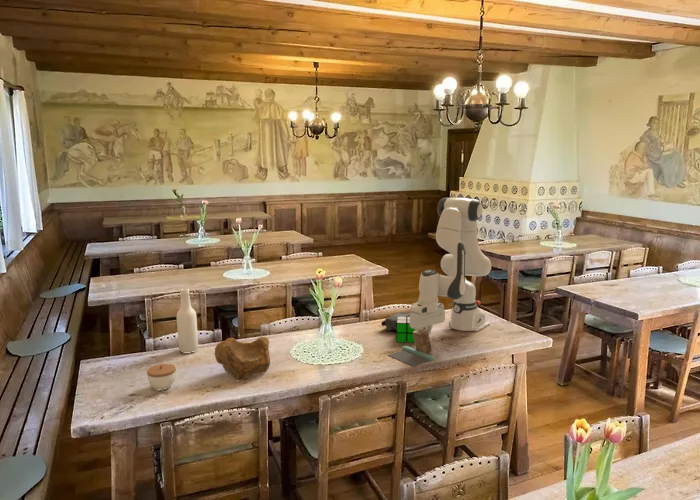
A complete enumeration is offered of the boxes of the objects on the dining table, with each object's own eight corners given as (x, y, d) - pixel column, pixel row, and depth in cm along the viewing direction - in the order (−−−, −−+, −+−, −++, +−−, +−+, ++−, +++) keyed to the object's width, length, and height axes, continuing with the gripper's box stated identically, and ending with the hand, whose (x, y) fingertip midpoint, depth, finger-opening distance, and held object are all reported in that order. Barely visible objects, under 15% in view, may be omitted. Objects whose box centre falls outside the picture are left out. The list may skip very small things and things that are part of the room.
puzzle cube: (416, 335, 266) (416, 316, 264) (417, 343, 256) (417, 323, 254) (396, 335, 267) (396, 316, 265) (396, 342, 257) (396, 322, 255)
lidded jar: (182, 386, 211) (180, 364, 209) (157, 395, 203) (155, 373, 201) (168, 379, 218) (166, 357, 216) (143, 387, 210) (141, 365, 208)
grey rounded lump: (398, 321, 288) (398, 307, 287) (416, 325, 282) (416, 311, 280) (380, 330, 274) (380, 316, 272) (398, 335, 267) (398, 320, 266)
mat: (403, 350, 247) (403, 349, 247) (429, 360, 234) (429, 360, 234) (388, 355, 241) (388, 355, 241) (413, 366, 228) (413, 366, 228)
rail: (405, 348, 249) (405, 345, 249) (434, 360, 235) (434, 356, 235) (402, 349, 248) (402, 346, 247) (431, 361, 234) (431, 358, 234)
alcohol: (175, 353, 246) (170, 290, 240) (186, 346, 254) (182, 286, 248) (191, 355, 243) (187, 292, 237) (202, 348, 251) (198, 287, 246)
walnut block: (424, 347, 247) (419, 326, 243) (432, 350, 243) (427, 329, 239) (416, 352, 244) (412, 332, 240) (424, 355, 241) (420, 335, 237)
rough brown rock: (217, 388, 211) (216, 354, 207) (214, 369, 226) (213, 336, 222) (275, 382, 218) (275, 349, 214) (268, 363, 233) (268, 332, 229)
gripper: (438, 300, 249) (437, 328, 252) (407, 307, 237) (406, 337, 239) (448, 303, 245) (447, 332, 247) (417, 310, 232) (416, 340, 234)
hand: (427, 334), depth 243 cm, fingers closed
